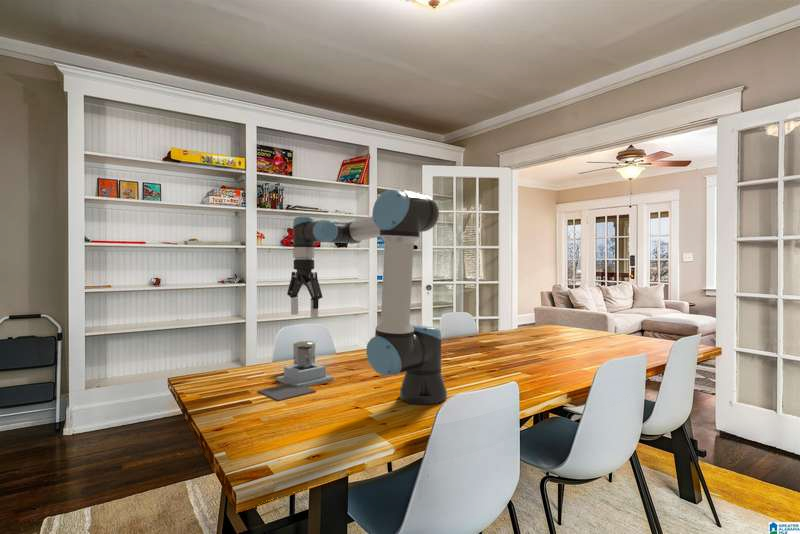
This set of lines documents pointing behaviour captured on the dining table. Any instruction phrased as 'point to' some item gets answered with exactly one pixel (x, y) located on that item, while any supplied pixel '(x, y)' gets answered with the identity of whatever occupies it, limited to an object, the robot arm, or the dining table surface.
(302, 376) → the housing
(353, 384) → the dining table surface
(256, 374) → the dining table surface
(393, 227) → the robot arm
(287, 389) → the mat
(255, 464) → the dining table surface
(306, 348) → the grey capped cylinder
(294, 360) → the ink box
